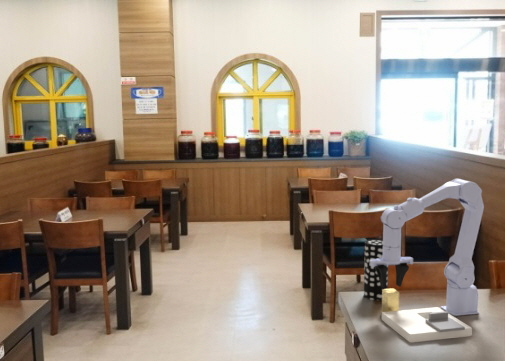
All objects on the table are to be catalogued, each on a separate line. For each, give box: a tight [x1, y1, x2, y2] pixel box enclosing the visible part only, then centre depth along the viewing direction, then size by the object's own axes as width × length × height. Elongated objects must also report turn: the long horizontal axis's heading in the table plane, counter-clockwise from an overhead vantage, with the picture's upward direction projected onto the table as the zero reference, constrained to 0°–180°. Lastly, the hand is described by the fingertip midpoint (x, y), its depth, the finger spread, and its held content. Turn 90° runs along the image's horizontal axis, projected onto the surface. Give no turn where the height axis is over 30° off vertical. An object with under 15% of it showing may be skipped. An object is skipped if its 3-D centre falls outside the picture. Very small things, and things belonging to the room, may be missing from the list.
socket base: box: [381, 306, 473, 343], centre depth 165 cm, size 20×18×2 cm
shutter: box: [426, 310, 465, 332], centre depth 160 cm, size 8×8×3 cm
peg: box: [381, 287, 400, 313], centre depth 176 cm, size 4×4×8 cm
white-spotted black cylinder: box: [363, 239, 389, 301], centre depth 193 cm, size 8×8×20 cm
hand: (390, 286), depth 176 cm, fingers open, 5 cm apart
